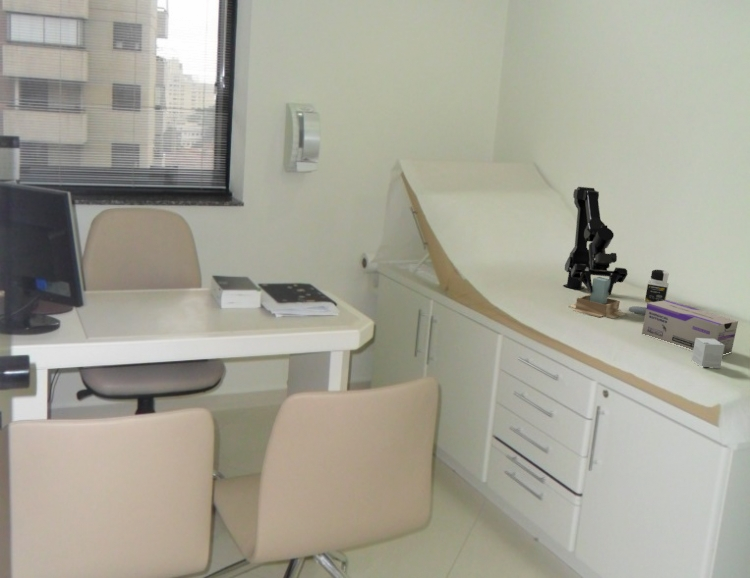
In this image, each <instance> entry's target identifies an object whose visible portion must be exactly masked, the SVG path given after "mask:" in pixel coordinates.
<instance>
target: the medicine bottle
mask: <svg viewBox="0 0 750 578" xmlns="http://www.w3.org/2000/svg"><path fill="white" fill-rule="evenodd" d="M669 275H670V274H669V272H668V271H665V270H662V269H653V270H652V271H651V276H650V280H649V281H648V283H647V285H646V286H647V287H646V293H645V297H644V302H646V303H650V302H657V301H664V300H667V299H666V298H667V295H668V288H669V284H670V283H668V280H669V279H668V278H669Z"/></svg>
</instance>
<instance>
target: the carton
mask: <svg viewBox="0 0 750 578" xmlns="http://www.w3.org/2000/svg"><path fill="white" fill-rule="evenodd" d="M590 296H591V293H589V294H586V295H582V296H580V297H577V298H576V303H573V304H570V305H568V307H569V308H571V309H572V311H573V312H576V311H577V313H581V314H585V315H587V314H588V315H587V316H591V317H596V318H598V319H599V318H603V317H604V318H605V317H606V318H610V319H612V320H613V319H616V318H618V317H622V316H624V314H625V315H626V313H625V312H622V311H621V309H620V308H619V307H620V300H616V299H613V298H610V297H609V298H608V297H607V303H606V305H604V304H600V303H596V302H592V301H590ZM619 310H620V311H619ZM602 316H603V317H602Z"/></svg>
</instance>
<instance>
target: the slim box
mask: <svg viewBox="0 0 750 578" xmlns="http://www.w3.org/2000/svg"><path fill="white" fill-rule="evenodd" d="M609 285H610V279H609V278H605V277H602V276H598V277H593V278H592V293H590V294H591V296H590V301H592V302H596V303H600V304H604V305H606V303H607V298H608V297H609V293H608V291H609Z"/></svg>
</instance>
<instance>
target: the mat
mask: <svg viewBox="0 0 750 578" xmlns="http://www.w3.org/2000/svg"><path fill="white" fill-rule="evenodd" d="M646 308H647V306H646V307H645V306H639V305H638V306H635V305H634V306H633V305H632V306H629V308H628V310H629V311H630V312H632V313H633V312H634V314H637V315H641V316H645V313H646Z"/></svg>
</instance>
